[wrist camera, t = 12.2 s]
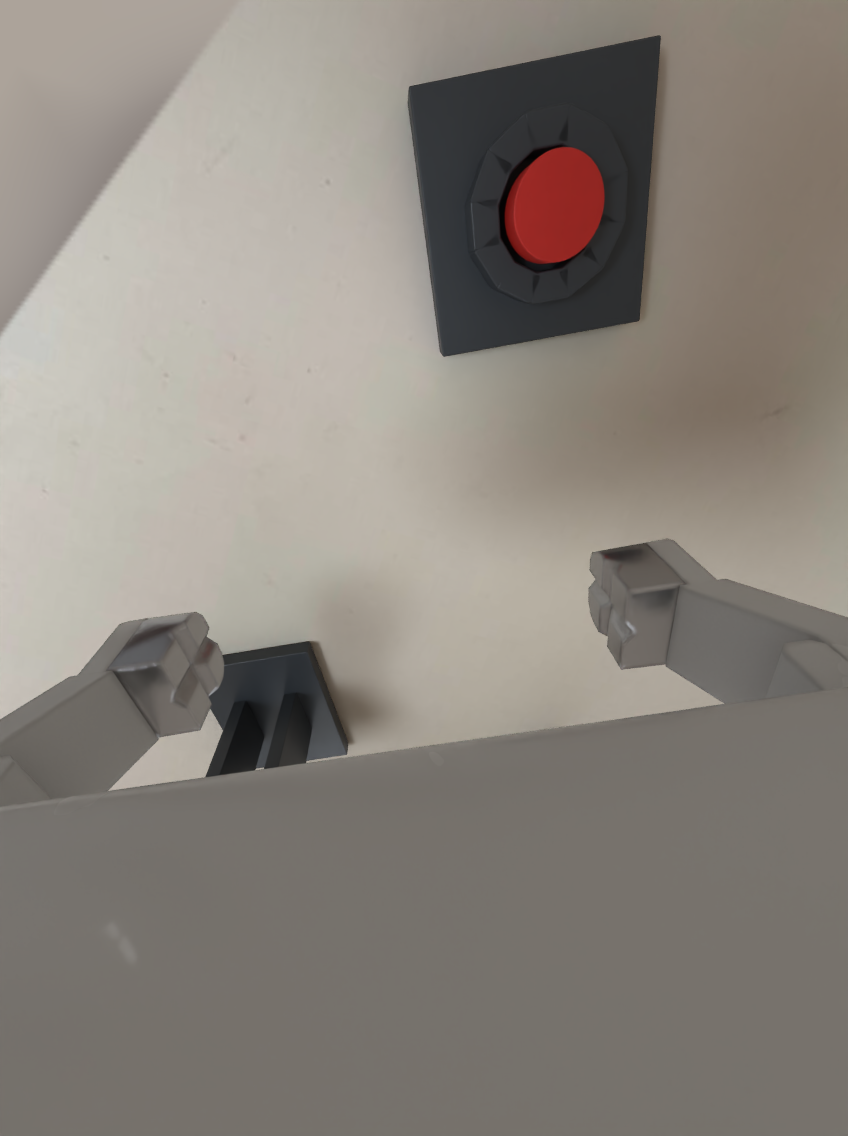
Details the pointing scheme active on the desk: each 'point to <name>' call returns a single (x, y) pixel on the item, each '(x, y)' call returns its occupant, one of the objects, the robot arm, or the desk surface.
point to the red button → (555, 206)
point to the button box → (495, 160)
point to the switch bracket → (274, 711)
